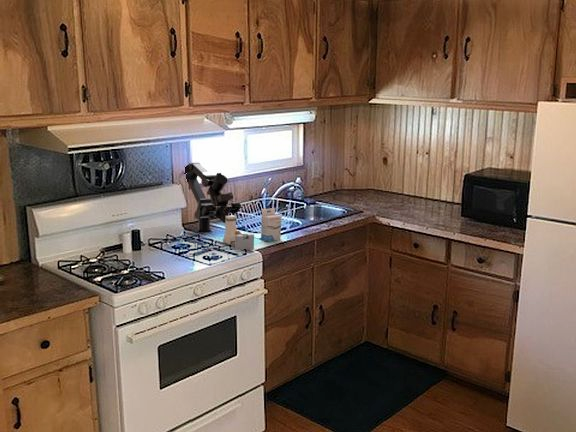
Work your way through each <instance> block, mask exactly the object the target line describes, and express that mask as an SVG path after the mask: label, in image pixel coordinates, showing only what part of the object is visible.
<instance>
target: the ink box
mask: <svg viewBox="0 0 576 432" xmlns="http://www.w3.org/2000/svg"><path fill="white" fill-rule="evenodd" d="M260 223H261V226H260V227H261V229H260V240H261V241H264V242H272V241H273V242H274V241H279V240H281V236H282V235H281V234H282V233H281V232H282V215H280V214H276V207H272V208H271V207H270V208H264V209H262V210H261V222H260Z"/></svg>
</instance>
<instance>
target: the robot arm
mask: <svg viewBox="0 0 576 432" xmlns="http://www.w3.org/2000/svg"><path fill="white" fill-rule="evenodd" d="M185 166H186V167H185ZM185 166H184V167H185V173H184V174H186V173H187V174H186V179H187V182H188V183H187V182H186V183H187V184H188V185H189V189H190V190H191V192H192V195H193V196H194V198H195V201H196V204H197V207H196V210H195V212H194V215H193V216H194V219H196V220H198V227H197V232H204V233H205V232H212V228H211V219H215V217H216V218H217V219H219V220H220V221H221V222H222V223H224V224H225V216H229V214H231V215H232V214H237V213H238V212H239V211H240V209H241V208H242V205H241V202H240V201H239V202H232V203H231V204H230V205H228V204H229V202H230V201H231V200H233V199H234V194H233V192H227V193H222V191H223V190H224V189H225V187H226V185H227V183H228V181H229V180H228V177H227V176H225V175H224V174H222V172H217V173H212V172H210V171H208V170H207V169H206V168H205V167H204V166H202V164H201V163H200V162H197V161H196V162H195V161H194V162H192V161H191V162H190V163H188V164H187V165H185ZM198 178H200V180H201V182H200V181H199V180H198ZM200 183H201V184H202V185H203V187H205V188H208V189H207V191H206V192H207V193H206V194H205V193H204V191H203V189H202V187H201V184H200ZM206 195H207V196H209V198H207V197H206Z"/></svg>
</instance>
